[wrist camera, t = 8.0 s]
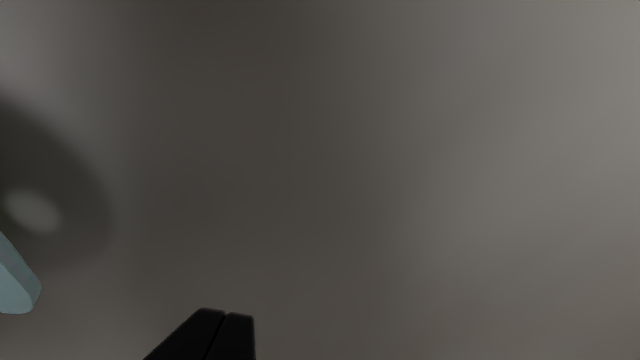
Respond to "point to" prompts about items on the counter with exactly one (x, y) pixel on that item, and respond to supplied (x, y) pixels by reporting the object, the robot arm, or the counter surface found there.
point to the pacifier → (16, 281)
